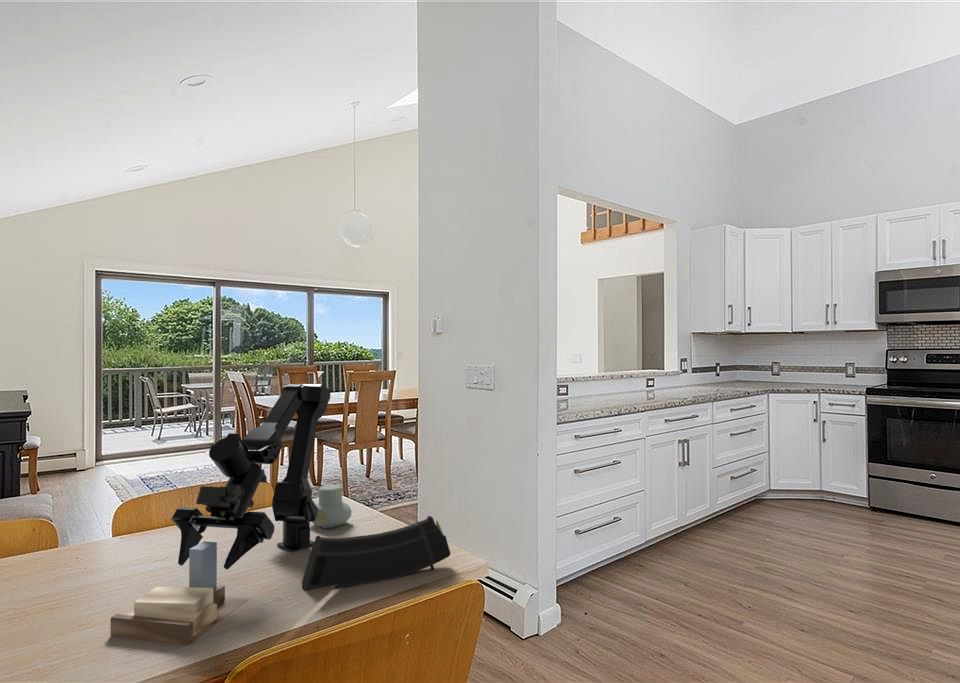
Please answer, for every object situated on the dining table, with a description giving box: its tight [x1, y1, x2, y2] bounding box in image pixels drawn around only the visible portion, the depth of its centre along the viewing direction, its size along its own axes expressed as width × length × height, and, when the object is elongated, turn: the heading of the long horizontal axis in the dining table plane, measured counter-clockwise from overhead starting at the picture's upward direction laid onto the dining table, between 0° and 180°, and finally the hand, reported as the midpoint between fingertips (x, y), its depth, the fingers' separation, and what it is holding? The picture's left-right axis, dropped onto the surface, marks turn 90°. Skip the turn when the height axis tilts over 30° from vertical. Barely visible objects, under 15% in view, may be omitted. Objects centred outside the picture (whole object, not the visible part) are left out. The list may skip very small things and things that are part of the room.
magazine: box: [301, 515, 451, 590], centre depth 117 cm, size 17×3×30 cm
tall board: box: [188, 540, 218, 589], centre depth 103 cm, size 4×3×10 cm, turn 169°
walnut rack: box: [110, 584, 250, 646], centre depth 99 cm, size 16×14×4 cm
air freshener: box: [311, 484, 352, 529], centre depth 152 cm, size 11×8×10 cm
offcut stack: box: [126, 586, 217, 636], centre depth 96 cm, size 7×12×5 cm, turn 79°
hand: (202, 566), depth 103 cm, fingers open, 9 cm apart
